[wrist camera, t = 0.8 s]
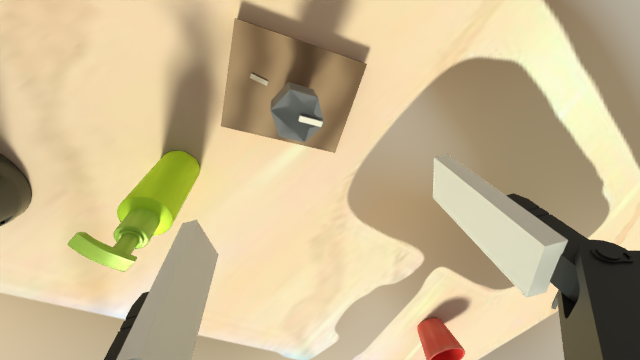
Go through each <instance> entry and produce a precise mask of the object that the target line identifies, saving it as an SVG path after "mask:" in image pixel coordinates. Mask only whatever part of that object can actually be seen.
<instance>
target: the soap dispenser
mask: <svg viewBox="0 0 640 360" xmlns="http://www.w3.org/2000/svg"><path fill="white" fill-rule="evenodd" d="M199 172H200V167H199V164H198V162H197V160H196V159H195V158H194V157H193V156H191V155H190V154H188V153H186V152H183V151H171V152H168V153H166V154H165V155H164V156H163V157H162V158H161V159H160V160H159V161H158V163H157V164H156V165H155V166H154V167H153V168H152V169H151V170H150V171H149V173H148V174H147V175H146V176H145V177H144V178H143V179H142V180H141V181H140V183H139V184H138V185H137V186H136V187H135V188H134V189H133V190H132V192H131V193H130V194H129V195H128V196H127V197H126V198H125V199H124V200H123V202H122V203H121V204H120V205H119V207H118V210H117V215H118V218H119V220H120V222H121V223H120V224H119V226H118V227H117V228H116V230H115V231H114V239H115V240H116V242H117V243H116V244H115V246H114V247H110V246H108V245H106V244H104V243H102V242H100V241H98V240H96V239H94V238H93V237H91V236H90V235H88V234H87V233H85V232H79V233H76V235H75V236H74V237H73V238H72V239H71V240H70V241H69V243H68V246H70V247H71V248H72V249H74V250H75V251H77V252H78V253H80V254H81V255H83V256H85V257H86V258H88V259H90V260H93V261H95V262H97V263H100V264H102V265H105V266H108V267H111V268H114V269H117V270H120V271H123V272H125V271H126V270H127V269H128V268H129V267H130V266H131V265H132V264H133V263H134V262H135V260H136V259H137V257H135V256H133V255H131V253H132V252H133V250H134V249H138V248H142V247H144V246H146V245H147V244H148V242H149V241H150V239H151V237H152V236H154V235H159V234H162V233H164V232H166V231H167V230H168V229H169V228H170V227H171V225H172V224H173V222H174V220H175V218H176V216H177V214H178V212H179V211H180V209H181V207H182V205H183V203H184V201H185V199H186V197H187V196H188V194H189V192H190V190H191V188H192V186H193V184H194V183H195V181H196V179H197V177H198V175H199Z"/></svg>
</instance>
